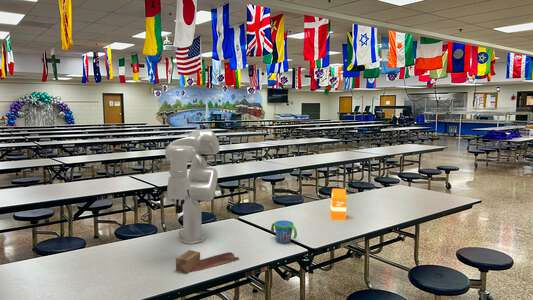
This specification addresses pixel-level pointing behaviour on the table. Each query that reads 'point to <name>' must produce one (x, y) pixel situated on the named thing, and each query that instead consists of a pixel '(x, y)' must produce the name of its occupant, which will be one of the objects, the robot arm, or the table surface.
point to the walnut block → (187, 261)
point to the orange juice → (338, 204)
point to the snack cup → (283, 230)
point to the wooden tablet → (215, 261)
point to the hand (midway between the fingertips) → (179, 212)
